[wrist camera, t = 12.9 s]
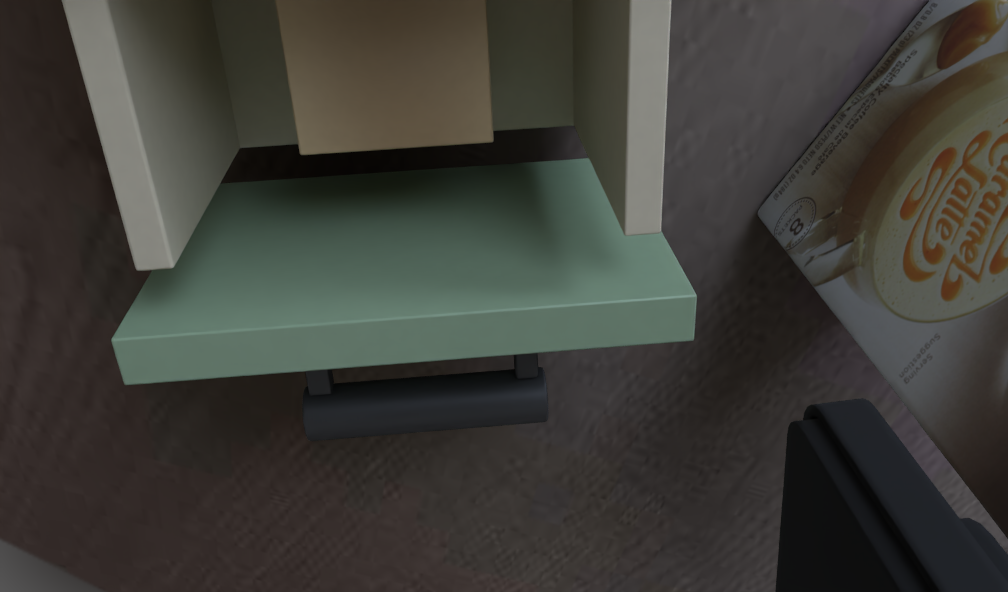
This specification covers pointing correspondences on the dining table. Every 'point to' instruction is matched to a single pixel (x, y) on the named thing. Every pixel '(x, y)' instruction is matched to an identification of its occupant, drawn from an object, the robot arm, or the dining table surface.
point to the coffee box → (921, 230)
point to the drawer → (385, 216)
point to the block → (387, 73)
